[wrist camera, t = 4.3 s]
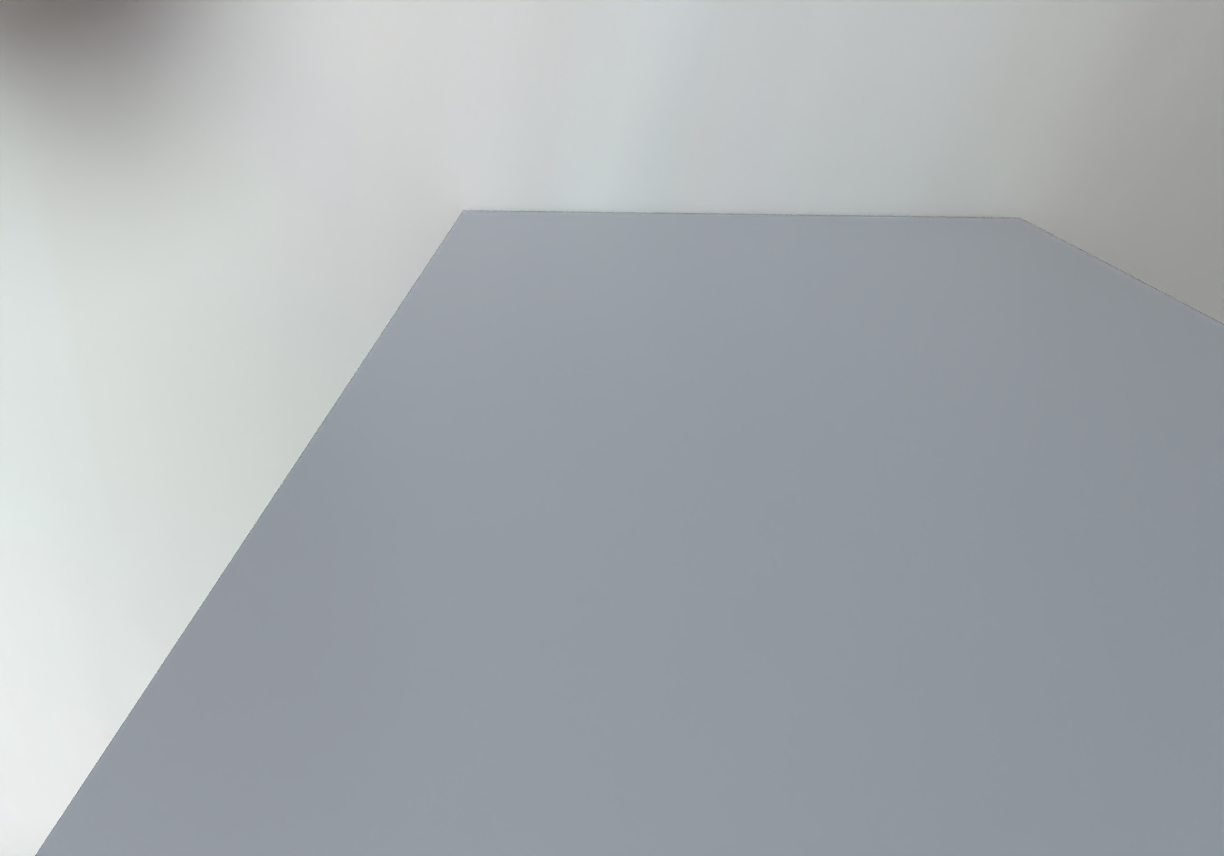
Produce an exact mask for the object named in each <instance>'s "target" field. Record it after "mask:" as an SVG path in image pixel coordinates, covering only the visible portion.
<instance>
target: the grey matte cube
mask: <svg viewBox="0 0 1224 856" xmlns="http://www.w3.org/2000/svg"><path fill="white" fill-rule="evenodd" d="M35 856H1224V324H1222V323H1220V322H1218V321H1216V320H1214V319H1212V318H1210V317H1209V316H1207V315H1205V314H1203V313H1201V312H1199V311H1197V310H1195V309H1193V308H1191V307H1189V306H1188V305H1186V304H1184V303H1182V302H1180V301H1178V300H1176V299H1174V298H1172V297H1170V296H1168V295H1167V294H1165V293H1163V292H1161V291H1159V290H1157V289H1155V288H1153V287H1151V286H1149V285H1147V284H1145V283H1144V282H1142V281H1140V280H1138V279H1136V278H1134V277H1132V276H1130V275H1128V274H1126V273H1124V272H1123V271H1121V270H1119V269H1117V268H1115V267H1113V266H1111V265H1109V264H1107V263H1105V262H1103V261H1102V260H1100V259H1098V258H1096V257H1094V256H1092V255H1090V254H1088V253H1086V252H1084V251H1082V250H1080V249H1079V248H1077V247H1075V246H1073V245H1071V244H1069V243H1067V242H1065V241H1063V240H1061V239H1059V238H1058V237H1056V236H1054V235H1052V234H1050V233H1048V232H1046V231H1044V230H1042V229H1040V228H1038V227H1037V226H1035V225H1033V224H1031V223H1029V222H1027V221H1025V220H1023V219H1021V218H985V217H911V216H837V215H763V214H688V213H614V212H540V211H466V210H463V212H462V213H461V215H460V216H459V218H458V219H457V221H456V222H455V224H454V225H453V227H452V228H451V230H450V231H449V233H448V234H447V236H446V237H445V239H444V240H443V242H442V243H441V245H440V246H439V248H438V249H437V251H436V252H435V254H434V255H433V257H432V258H431V260H430V261H429V263H428V264H427V266H426V267H425V269H424V270H423V272H422V274H421V275H420V277H419V278H418V280H417V281H416V283H415V284H414V286H413V287H412V289H411V290H410V292H409V293H408V295H407V296H406V298H405V299H404V301H403V302H402V304H401V305H400V307H399V308H398V310H397V311H396V313H395V314H394V316H393V317H392V319H391V320H390V322H389V323H388V325H387V326H386V328H385V329H384V331H383V332H382V334H381V335H380V337H379V338H378V340H377V341H376V343H375V344H374V346H373V347H372V349H371V350H370V352H369V353H368V355H367V356H366V358H365V359H364V361H363V362H362V364H361V365H360V367H359V368H358V370H357V371H356V373H355V374H354V376H353V378H352V379H351V381H350V382H349V384H348V385H347V387H346V388H345V390H344V391H343V393H342V394H341V396H340V397H339V399H338V400H337V402H336V403H335V405H334V406H333V408H332V409H331V411H330V412H329V414H328V415H327V417H326V418H325V420H324V421H323V423H322V424H321V426H320V427H319V429H318V430H317V432H316V433H315V435H314V436H313V438H312V439H311V441H310V442H309V444H308V445H307V447H306V448H305V450H304V451H303V453H302V454H301V456H300V457H299V459H298V460H297V462H296V463H295V465H294V466H293V468H292V469H291V471H290V472H289V474H288V475H287V477H286V478H285V480H284V482H283V483H282V485H281V486H280V488H279V489H278V491H277V492H276V494H275V495H274V497H273V498H272V500H271V501H270V503H269V504H268V506H267V507H266V509H265V510H264V512H263V513H262V515H261V516H260V518H259V519H258V521H257V522H256V524H255V525H254V527H253V528H252V530H251V531H250V533H249V534H248V536H247V537H246V539H245V540H244V542H243V543H242V545H241V546H240V548H239V549H238V551H237V552H236V554H235V555H234V557H233V558H232V560H231V561H230V563H229V564H228V566H227V567H226V569H225V570H224V572H223V573H222V575H221V576H220V578H219V579H218V581H217V582H216V584H215V586H214V587H213V589H212V590H211V592H210V593H209V595H208V596H207V598H206V599H205V601H204V602H203V604H202V605H201V607H200V608H199V610H198V611H197V613H196V614H195V616H194V617H193V619H192V620H191V622H190V623H189V625H188V626H187V628H186V629H185V631H184V632H183V634H182V635H181V637H180V638H179V640H178V641H177V643H176V644H175V646H174V647H173V649H172V650H171V652H170V653H169V655H168V656H167V658H166V659H165V661H164V662H163V664H162V665H161V667H160V668H159V670H158V671H157V673H156V674H155V676H154V677H153V679H152V680H151V682H150V683H149V685H148V687H147V688H146V690H145V691H144V693H143V694H142V696H141V697H140V699H139V700H138V702H137V703H136V705H135V706H134V708H133V709H132V711H131V712H130V714H129V715H128V717H127V718H126V720H125V721H124V723H123V724H122V726H121V727H120V729H119V730H118V732H117V733H116V735H115V736H114V738H113V739H112V741H111V742H110V744H109V745H108V747H107V748H106V750H105V751H104V753H103V754H102V756H101V757H100V759H99V760H98V762H97V763H96V765H95V766H94V768H93V769H92V771H91V772H90V774H89V775H88V777H87V778H86V780H85V781H84V783H83V784H82V786H81V787H80V789H79V791H78V792H77V794H76V795H75V797H74V798H73V800H72V801H71V803H70V804H69V806H68V807H67V809H66V810H65V812H64V813H63V815H62V816H61V818H60V819H59V821H58V822H57V824H56V825H55V827H54V828H53V830H52V831H51V833H50V834H49V836H48V837H47V839H46V840H45V842H44V843H43V845H42V846H41V848H40V849H39V851H38V852H37V854H36V855H35Z"/></svg>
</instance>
